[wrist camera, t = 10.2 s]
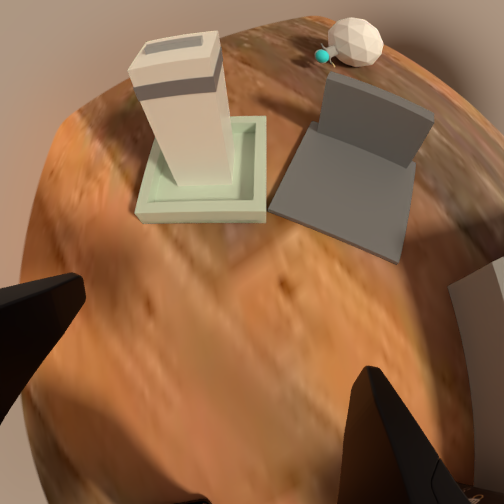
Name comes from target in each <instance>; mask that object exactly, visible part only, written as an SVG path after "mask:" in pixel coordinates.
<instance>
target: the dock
mask: <svg viewBox="0 0 504 504" xmlns="http://www.w3.org/2000/svg"><path fill="white" fill-rule="evenodd" d="M433 124H434V113H432V112H431V111H429V110H427V109H425V108H423V107H421V106H419V105H416V104H414V103H412V102H410V101H408V100H406V99H404V98H401V97H399V96H397V95H395V94H392V93H390V92H387V91H385V90H383V89H380V88H377V87H375V86H372V85H370V84H367V83H364V82H362V81H359V80H356V79H353V78H350V77H347V76H344V75H341V74H338V73H335V72H331V71H330V73H329V75H328V77H327V79H326V85H325V91H324V97H323V102H322V108H321V113H320V119H319V123H317V122H314V121H312V122H311V124H310V126H309V128H308V130H307V132H306V134H305V136H304V138H303V140H302V142H301V144H300V146H299V148H298V150H297V152H296V154H295V156H294V158H293V160H292V162H291V164H290V166H289V168H288V170H287V172H286V174H285V176H284V178H283V180H282V182H281V184H280V186H279V188H278V190H277V192H276V194H275V196H274V198H273V200H272V202H271V204H270V206H269V208H268V212H270V213H273V214H275V215H278V216H281V217H283V218H286V219H288V220H291V221H293V222H296V223H299V224H301V225H304V226H306V227H309V228H311V229H314V230H316V231H318V232H321V233H323V234H326V235H328V236H331V237H333V238H336V239H338V240H340V241H343V242H345V243H348V244H350V245H352V246H355V247H357V248H359V249H362V250H364V251H366V252H369V253H371V254H373V255H376V256H378V257H380V258H382V259H385V260H387V261H389V262H391V263H394V264H396V265H397V264H398V263H399V260H400V256H401V252H402V247H403V243H404V238H405V233H406V228H407V222H408V217H409V211H410V205H411V198H412V191H413V184H414V176H415V167H416V163H415V162H413V161H412V159H413V158H414V156H415V154H416V153H417V151H418V150H419V148H420V146H421V145H422V143H423V141H424V139H425V138H426V136H427V134H428V133H429V131H430V129H431V127H432V126H433Z"/></svg>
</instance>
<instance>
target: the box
mask: <svg viewBox="0 0 504 504" xmlns="http://www.w3.org/2000/svg"><path fill="white" fill-rule="evenodd" d="M447 287H448V291H449V294H450V297H451V301H452V304H453V308H454V311H455V315H456V319H457V323H458V327H459V331H460V335H461V340H462V344H463V349H464V354H465V359H466V365H467V371H468V377H469V384H470V391H471V399H472V409H473V422H474V446H475V461H474V485H473V487H477V488H481V489H486V490H490V491H495V492H501V493H504V257H502V258H500V259H497V260H495V261H493V262H491V263H489V264H488V265H486V266H484V267H482V268H481V269H479V270H477V271H475V272H473V273H471V274H470V275H468V276H466V277H464V278H462V279H460V280H458V281H456V282H454V283H452V284H450V285H448V286H447Z"/></svg>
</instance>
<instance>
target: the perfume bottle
mask: <svg viewBox="0 0 504 504" xmlns="http://www.w3.org/2000/svg"><path fill="white" fill-rule="evenodd" d="M328 44H329V47H327V48H325V47H324V46H323V44H322V43H321V45H322V48H323V50H322V49H319V50H317V51H316V52H315V55H314V56H315V59H316V60H317V61H318V62H319V63H326V62H327V61H328V60H329V61H330V63H331V58H332V57H334V56H336V57H337V58H338V59H339V60H340V61H342V62H343V63H345V64H347V65H351V66H354V67H360V66H367V65H372V64H373V63H374V62H375V61H376V60H377V59H378V57H379V56H380V55H381V54H382V49H383V41H382V39H381V37H380V34H379V32H378V30H377V29H376V28H375V27H373V26H372V25H371V24H370V23H369V22H367V21H366V20H364V19H357V18H351V17H350V18H346V19H342V20H338V21H337V22H336V23H335V24H334V25H333V26H332V27H331V29H330V30H329V31H328ZM331 64H333V63H331ZM333 66H334V64H333ZM334 67H335V66H334Z"/></svg>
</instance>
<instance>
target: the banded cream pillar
mask: <svg viewBox="0 0 504 504" xmlns="http://www.w3.org/2000/svg"><path fill="white" fill-rule="evenodd" d="M128 73H129V76H130V79H131V81H132V83H133V86H134V87H133V89H134V91H135V93H136V96H137V98H138V101H140V103H141V105H142V107H143V110H144V112H145V114H146V117H147V119H148V121H149V124H150V126H151V128H152V130H153V133H154V135H155V137H156V139H157V142H158V144H159V146H160V148H161V151H162V153H163V155H164V157H165V159H166V162H167V164H168V166H169V168H170V170H171V173H172V175H173V177H174V179H175V181H176V183H177V185H178V186H200V185H232V180H233V167H234V155H235V148H234V141H233V134H232V127H231V120H230V113H229V106H228V98H227V91H226V84H225V77H224V70H223V56H222V49H221V47H220V40H219V34H218V31H209V32H201V33H192V34H185V35H179V36H172V37H167V38H161V39H156V40H152V41H148V42H146V43H145V45H144V46H143V48H142V49H141V50H140V52H139V54H138V55H137V56H136V58H135V59H134V61H133V62H132V64H131V66H130V67H129V69H128Z"/></svg>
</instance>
